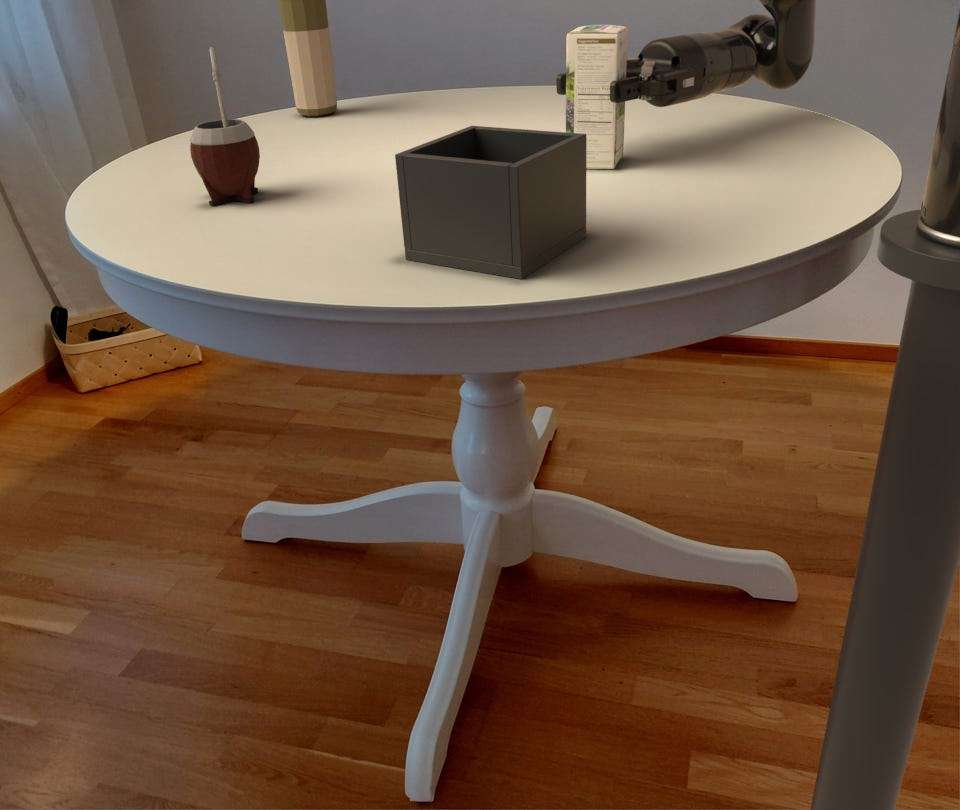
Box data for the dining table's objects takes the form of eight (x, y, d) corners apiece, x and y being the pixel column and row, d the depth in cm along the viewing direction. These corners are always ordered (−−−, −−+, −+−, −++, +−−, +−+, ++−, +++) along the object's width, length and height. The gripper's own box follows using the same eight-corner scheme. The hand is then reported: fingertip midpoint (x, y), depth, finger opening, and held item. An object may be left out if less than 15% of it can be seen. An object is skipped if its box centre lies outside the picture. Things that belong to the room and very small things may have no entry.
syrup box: (575, 156, 105) (575, 25, 98) (625, 157, 103) (628, 23, 96) (564, 169, 100) (563, 31, 93) (616, 170, 98) (619, 30, 91)
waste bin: (586, 236, 79) (586, 133, 74) (521, 279, 70) (517, 166, 66) (477, 221, 84) (471, 125, 80) (405, 259, 76) (394, 154, 72)
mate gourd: (228, 211, 92) (197, 59, 85) (184, 201, 97) (151, 56, 90) (283, 193, 97) (258, 49, 90) (238, 185, 102) (212, 46, 95)
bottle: (324, 108, 143) (295, -105, 128) (349, 112, 138) (321, -108, 124) (286, 115, 139) (252, -104, 125) (311, 120, 134) (278, -107, 120)
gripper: (640, 31, 108) (541, 48, 100) (735, 38, 98) (633, 56, 90) (638, 95, 112) (542, 116, 103) (729, 108, 102) (631, 132, 93)
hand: (584, 88), depth 96 cm, fingers open, 8 cm apart
